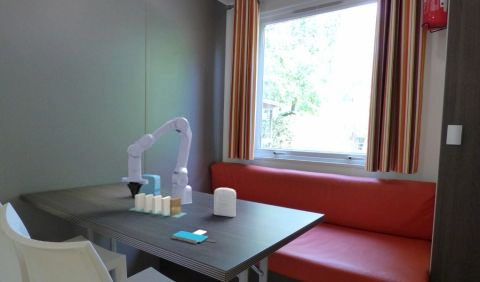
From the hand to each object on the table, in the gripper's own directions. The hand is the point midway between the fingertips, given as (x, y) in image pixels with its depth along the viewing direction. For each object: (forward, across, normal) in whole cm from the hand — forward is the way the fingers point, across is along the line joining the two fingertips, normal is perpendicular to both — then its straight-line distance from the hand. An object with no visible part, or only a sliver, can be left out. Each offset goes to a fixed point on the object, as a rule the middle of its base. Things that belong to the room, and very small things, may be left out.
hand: (135, 198), depth 141 cm
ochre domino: (+5, +23, 0) cm, 24 cm away
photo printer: (+6, +43, +10) cm, 44 cm away
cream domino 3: (+5, +13, 0) cm, 14 cm away
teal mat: (+5, +13, 0) cm, 14 cm away
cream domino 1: (+5, +3, 0) cm, 6 cm away
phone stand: (+6, +44, -18) cm, 48 cm away
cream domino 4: (+5, +18, 0) cm, 19 cm away
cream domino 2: (+5, +8, 0) cm, 9 cm away
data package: (+6, -11, +23) cm, 27 cm away
